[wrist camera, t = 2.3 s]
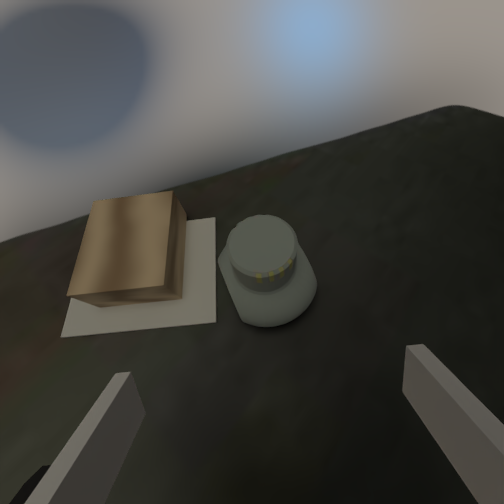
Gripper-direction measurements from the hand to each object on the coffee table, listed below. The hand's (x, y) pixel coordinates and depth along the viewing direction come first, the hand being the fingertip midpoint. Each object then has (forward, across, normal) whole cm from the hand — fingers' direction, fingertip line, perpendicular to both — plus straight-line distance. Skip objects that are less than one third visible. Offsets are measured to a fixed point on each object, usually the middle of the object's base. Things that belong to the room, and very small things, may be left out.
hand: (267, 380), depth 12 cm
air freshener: (+17, 0, -3) cm, 17 cm away
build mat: (+19, -14, 0) cm, 24 cm away
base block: (+20, -14, +1) cm, 25 cm away
